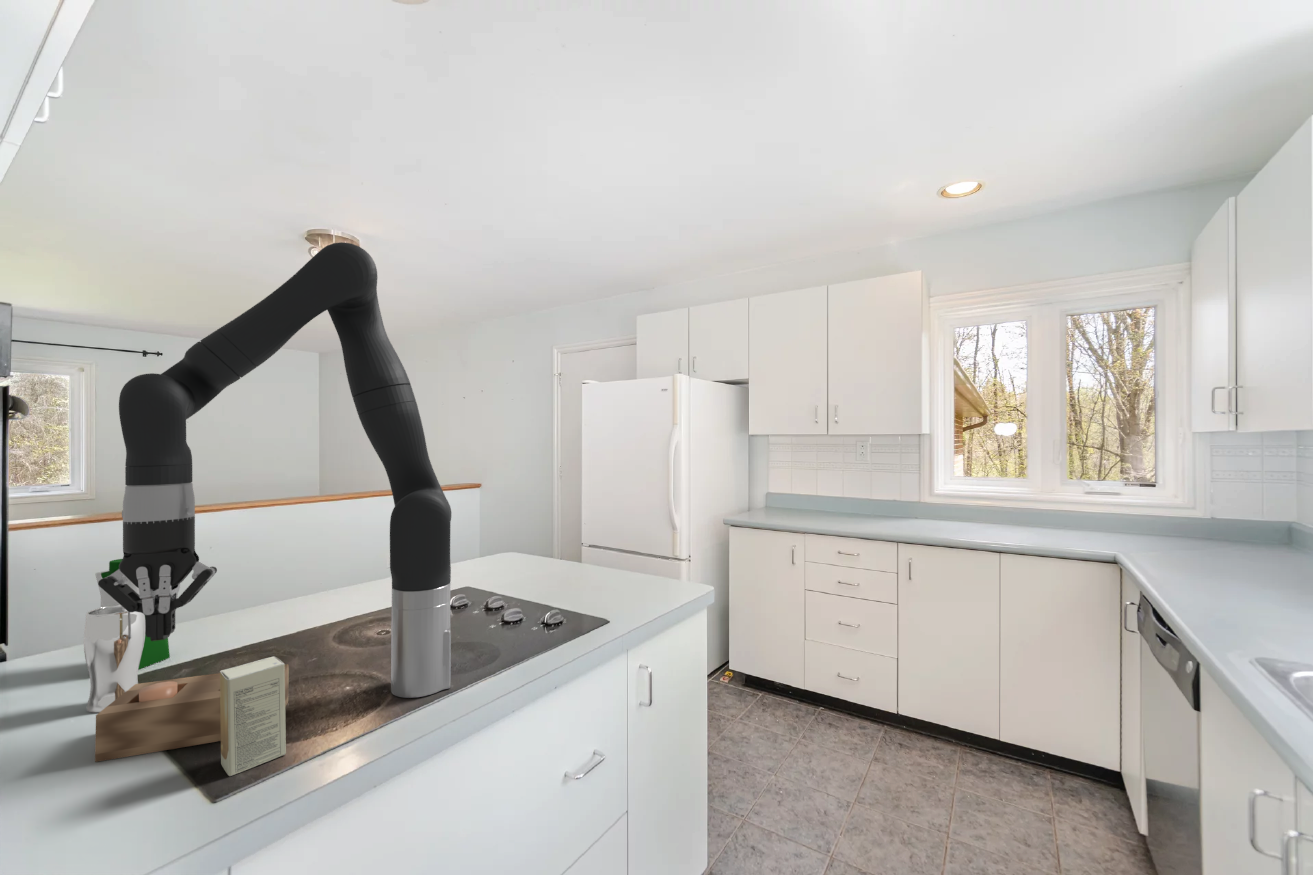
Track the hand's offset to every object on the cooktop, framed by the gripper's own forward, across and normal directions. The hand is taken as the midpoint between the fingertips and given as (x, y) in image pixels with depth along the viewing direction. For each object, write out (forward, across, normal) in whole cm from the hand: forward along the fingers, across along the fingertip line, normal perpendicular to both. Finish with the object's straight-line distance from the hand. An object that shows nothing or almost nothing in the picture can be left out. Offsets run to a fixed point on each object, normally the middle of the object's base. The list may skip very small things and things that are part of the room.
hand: (160, 638), depth 76 cm
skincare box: (+14, -14, +12) cm, 23 cm away
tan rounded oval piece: (+11, 0, 0) cm, 12 cm away
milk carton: (+14, +16, -34) cm, 40 cm away
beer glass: (+14, +11, -15) cm, 23 cm away
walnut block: (+14, -5, 0) cm, 14 cm away
